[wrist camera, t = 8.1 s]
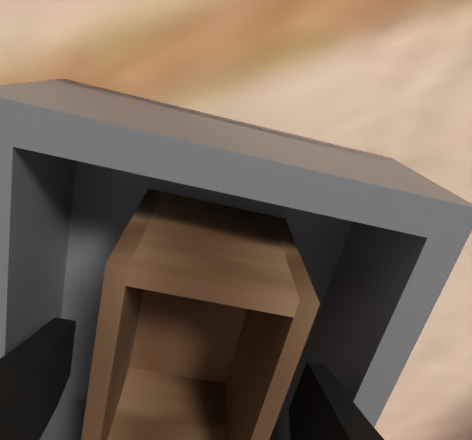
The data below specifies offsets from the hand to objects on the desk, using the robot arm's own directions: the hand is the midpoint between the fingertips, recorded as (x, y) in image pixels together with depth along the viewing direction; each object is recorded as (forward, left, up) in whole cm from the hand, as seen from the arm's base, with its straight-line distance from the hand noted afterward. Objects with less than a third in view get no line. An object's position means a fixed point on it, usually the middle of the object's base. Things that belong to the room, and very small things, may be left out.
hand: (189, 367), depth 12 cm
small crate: (0, 0, -4) cm, 4 cm away
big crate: (0, 0, -5) cm, 5 cm away
